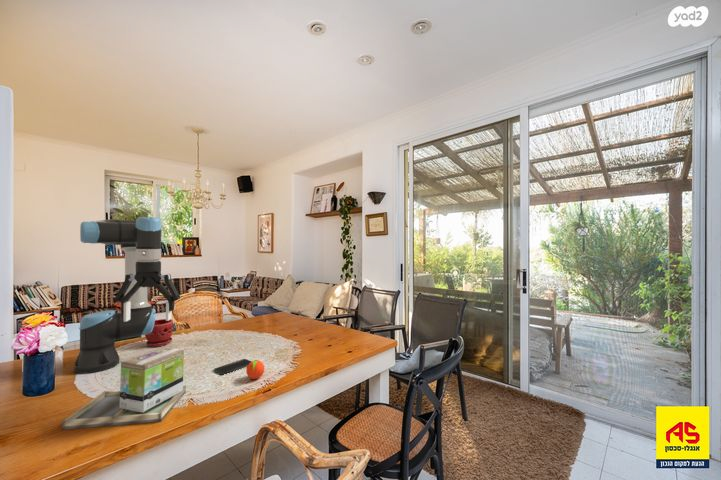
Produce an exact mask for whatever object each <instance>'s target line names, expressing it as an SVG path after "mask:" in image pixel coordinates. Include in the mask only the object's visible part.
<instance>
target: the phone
mask: <svg viewBox="0 0 721 480" xmlns="http://www.w3.org/2000/svg"><path fill="white" fill-rule="evenodd" d="M252 361H253V360H249V359H246V358H243V359H239V360H236V361H233V362H231V363H226V364H224V365H222V366H218V367H216V368H213V372H214V373H216V372H217V373H216V374H218V373H219V374H218V375H220V374H221V376H225V375H224V374H226V375H228V374H227V373H229V374H231V373H234V372H237V371H240V370H242V368H243V369H246V368H247V366H248V365H249V363H250V362H252ZM239 369H240V370H239ZM236 370H237V371H236ZM233 371H234V372H233ZM230 372H231V373H230Z"/></svg>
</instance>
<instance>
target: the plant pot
mask: <svg viewBox="0 0 721 480" xmlns="http://www.w3.org/2000/svg"><path fill="white" fill-rule="evenodd" d="M173 330H174V320H173V319H170V320H169V321H166V318H162V319H161V318H160V319H155V323H154V328H153V330H152V332H151V333H150V334H146V335H144V336H145V339H146V340H147V341H146V344H145V345H147V346H148V347H151V348H152V347H153V348H155V347H156V348H157V347H164V346H166V345H168V344H170V343H171V342H172V341H173V337H172V335H173V332H174V331H173Z"/></svg>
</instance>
